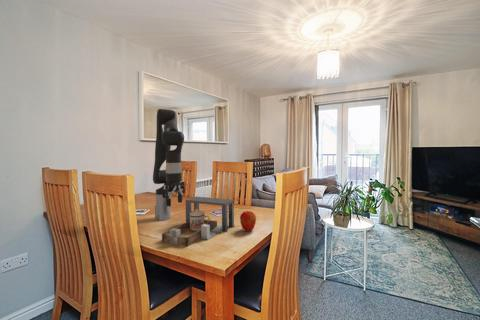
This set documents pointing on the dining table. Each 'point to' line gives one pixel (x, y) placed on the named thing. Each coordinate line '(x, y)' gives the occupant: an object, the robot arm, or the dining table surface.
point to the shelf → (213, 202)
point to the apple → (248, 220)
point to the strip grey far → (217, 229)
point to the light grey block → (206, 232)
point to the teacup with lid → (197, 220)
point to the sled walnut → (176, 238)
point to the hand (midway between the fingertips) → (174, 204)
